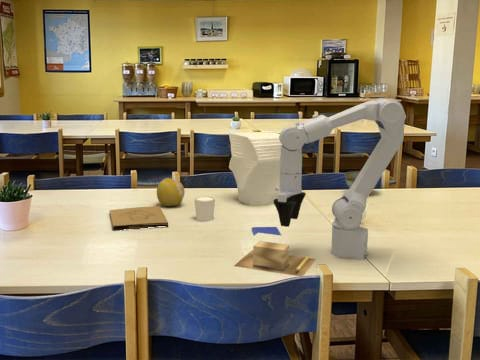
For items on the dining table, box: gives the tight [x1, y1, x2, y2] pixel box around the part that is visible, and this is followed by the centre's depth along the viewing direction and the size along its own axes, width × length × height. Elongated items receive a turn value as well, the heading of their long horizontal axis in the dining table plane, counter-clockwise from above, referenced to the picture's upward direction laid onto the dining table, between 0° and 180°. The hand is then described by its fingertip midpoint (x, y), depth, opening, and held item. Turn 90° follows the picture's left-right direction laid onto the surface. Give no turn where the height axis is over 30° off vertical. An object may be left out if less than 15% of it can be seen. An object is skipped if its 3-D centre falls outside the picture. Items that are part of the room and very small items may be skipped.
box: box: [109, 205, 169, 232], centre depth 183 cm, size 21×18×2 cm
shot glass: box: [194, 196, 216, 222], centre depth 184 cm, size 7×7×7 cm
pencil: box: [295, 255, 311, 273], centre depth 139 cm, size 11×1×1 cm, turn 158°
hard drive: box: [251, 226, 282, 237], centre depth 167 cm, size 2×8×12 cm
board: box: [233, 249, 317, 277], centre depth 142 cm, size 18×13×1 cm
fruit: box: [156, 177, 185, 207], centre depth 201 cm, size 10×11×10 cm
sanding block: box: [252, 240, 290, 271], centre depth 138 cm, size 8×4×6 cm, turn 68°
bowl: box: [344, 170, 378, 190], centre depth 221 cm, size 14×13×8 cm
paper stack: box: [228, 131, 282, 206], centre depth 206 cm, size 21×27×26 cm
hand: (289, 222), depth 146 cm, fingers open, 7 cm apart
